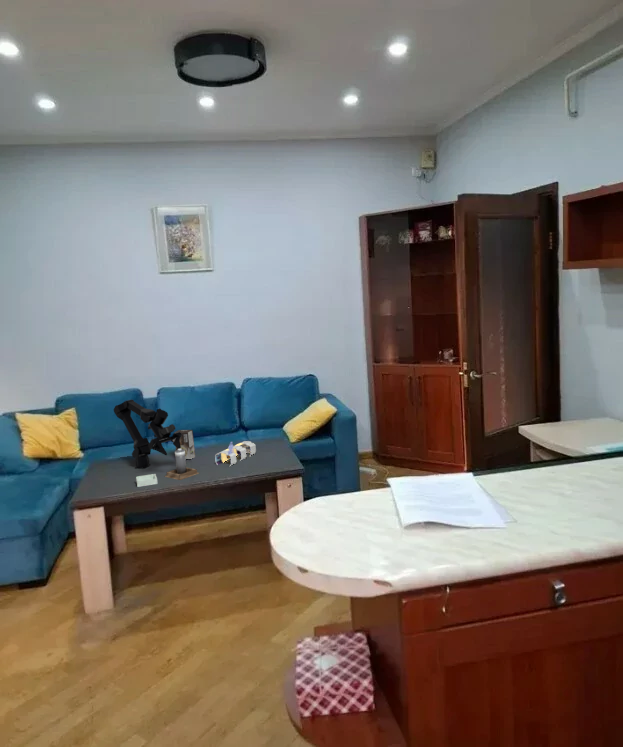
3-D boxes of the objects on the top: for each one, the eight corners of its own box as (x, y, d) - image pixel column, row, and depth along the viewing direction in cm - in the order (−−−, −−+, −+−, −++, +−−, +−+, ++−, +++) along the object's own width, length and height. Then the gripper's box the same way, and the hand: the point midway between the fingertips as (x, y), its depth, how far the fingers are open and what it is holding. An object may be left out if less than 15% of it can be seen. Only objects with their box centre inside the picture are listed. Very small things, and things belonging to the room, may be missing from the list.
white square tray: (136, 482, 301) (135, 476, 301) (155, 479, 304) (155, 473, 304) (137, 487, 292) (137, 482, 292) (157, 484, 295) (157, 478, 295)
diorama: (231, 467, 318) (229, 443, 316) (215, 466, 323) (213, 442, 321) (256, 455, 340) (254, 432, 338) (241, 453, 345) (239, 431, 343)
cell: (175, 476, 306) (172, 450, 304) (179, 473, 311) (176, 447, 309) (184, 476, 305) (182, 450, 303) (188, 473, 310) (186, 447, 308)
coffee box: (195, 456, 343) (193, 429, 341) (190, 460, 337) (188, 432, 335) (181, 456, 345) (178, 429, 343) (176, 459, 339) (173, 432, 337)
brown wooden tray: (164, 477, 307) (163, 472, 307) (183, 470, 317) (183, 465, 317) (180, 481, 299) (179, 476, 298) (200, 473, 309) (199, 469, 308)
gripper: (149, 424, 303) (165, 447, 298) (178, 416, 318) (193, 439, 312) (141, 437, 309) (157, 460, 304) (170, 429, 324) (185, 451, 318)
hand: (173, 452), depth 309 cm, fingers open, 9 cm apart
